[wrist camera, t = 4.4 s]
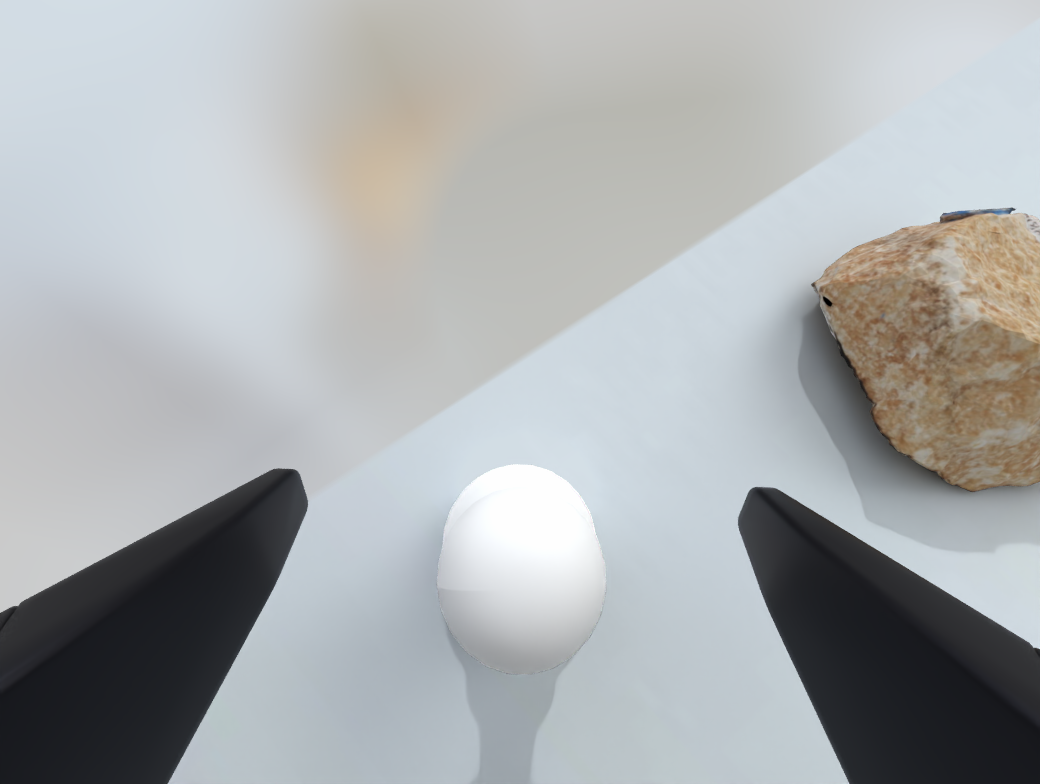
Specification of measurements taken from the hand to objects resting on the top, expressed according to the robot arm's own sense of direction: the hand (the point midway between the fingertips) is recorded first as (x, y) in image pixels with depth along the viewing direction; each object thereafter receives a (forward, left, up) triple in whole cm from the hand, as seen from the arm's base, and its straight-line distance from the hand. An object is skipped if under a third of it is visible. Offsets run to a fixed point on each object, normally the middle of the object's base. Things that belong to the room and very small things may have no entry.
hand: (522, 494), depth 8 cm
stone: (+3, -17, -7) cm, 19 cm away
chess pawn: (-1, 0, -7) cm, 7 cm away
